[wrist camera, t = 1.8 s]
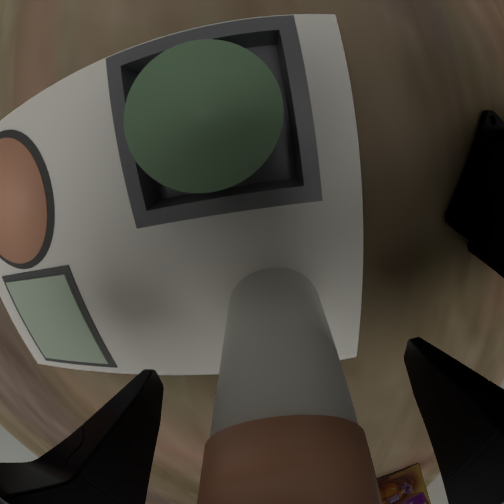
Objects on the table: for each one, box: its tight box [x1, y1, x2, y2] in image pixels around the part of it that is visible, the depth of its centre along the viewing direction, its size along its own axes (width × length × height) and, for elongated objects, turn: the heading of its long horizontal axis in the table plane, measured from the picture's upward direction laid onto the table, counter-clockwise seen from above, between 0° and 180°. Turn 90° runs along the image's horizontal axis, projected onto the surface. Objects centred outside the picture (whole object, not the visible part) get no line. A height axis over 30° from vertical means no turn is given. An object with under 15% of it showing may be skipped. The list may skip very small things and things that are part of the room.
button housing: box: [106, 15, 322, 229], centre depth 8 cm, size 6×6×2 cm
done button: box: [123, 39, 284, 193], centre depth 7 cm, size 4×4×2 cm
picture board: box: [0, 14, 363, 375], centre depth 11 cm, size 22×16×1 cm
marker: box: [197, 267, 382, 504], centre depth 8 cm, size 4×4×10 cm
